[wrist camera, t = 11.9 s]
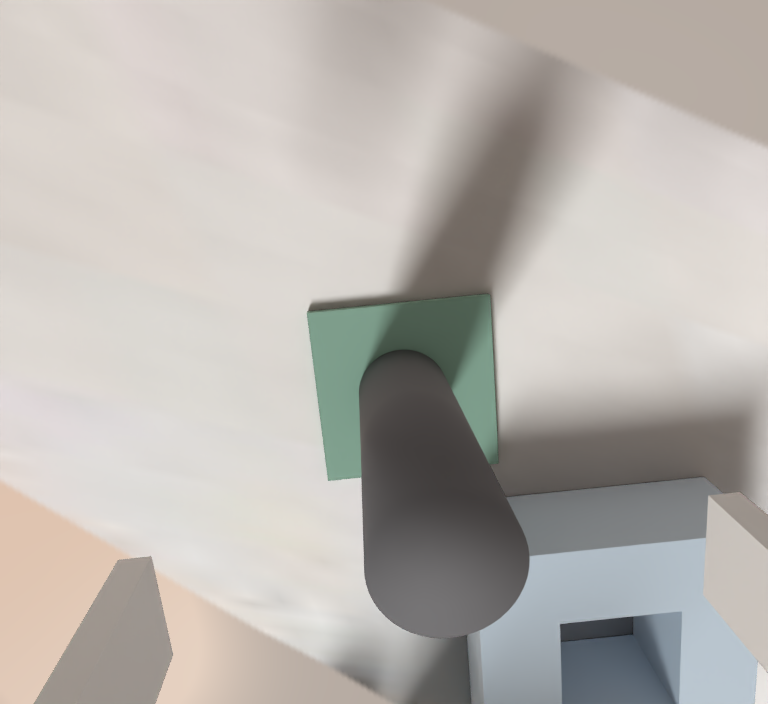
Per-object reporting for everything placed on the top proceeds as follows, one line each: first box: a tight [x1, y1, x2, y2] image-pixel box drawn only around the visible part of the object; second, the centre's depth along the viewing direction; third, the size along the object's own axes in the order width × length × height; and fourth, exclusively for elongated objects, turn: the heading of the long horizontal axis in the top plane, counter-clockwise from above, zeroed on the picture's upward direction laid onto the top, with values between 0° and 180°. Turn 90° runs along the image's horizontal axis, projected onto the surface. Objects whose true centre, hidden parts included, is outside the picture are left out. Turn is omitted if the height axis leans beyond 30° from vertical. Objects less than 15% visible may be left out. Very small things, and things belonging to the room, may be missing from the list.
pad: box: [307, 294, 499, 481], centre depth 29 cm, size 8×8×1 cm
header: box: [467, 477, 758, 704], centre depth 30 cm, size 12×12×5 cm
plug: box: [359, 350, 530, 638], centre depth 22 cm, size 4×4×14 cm
